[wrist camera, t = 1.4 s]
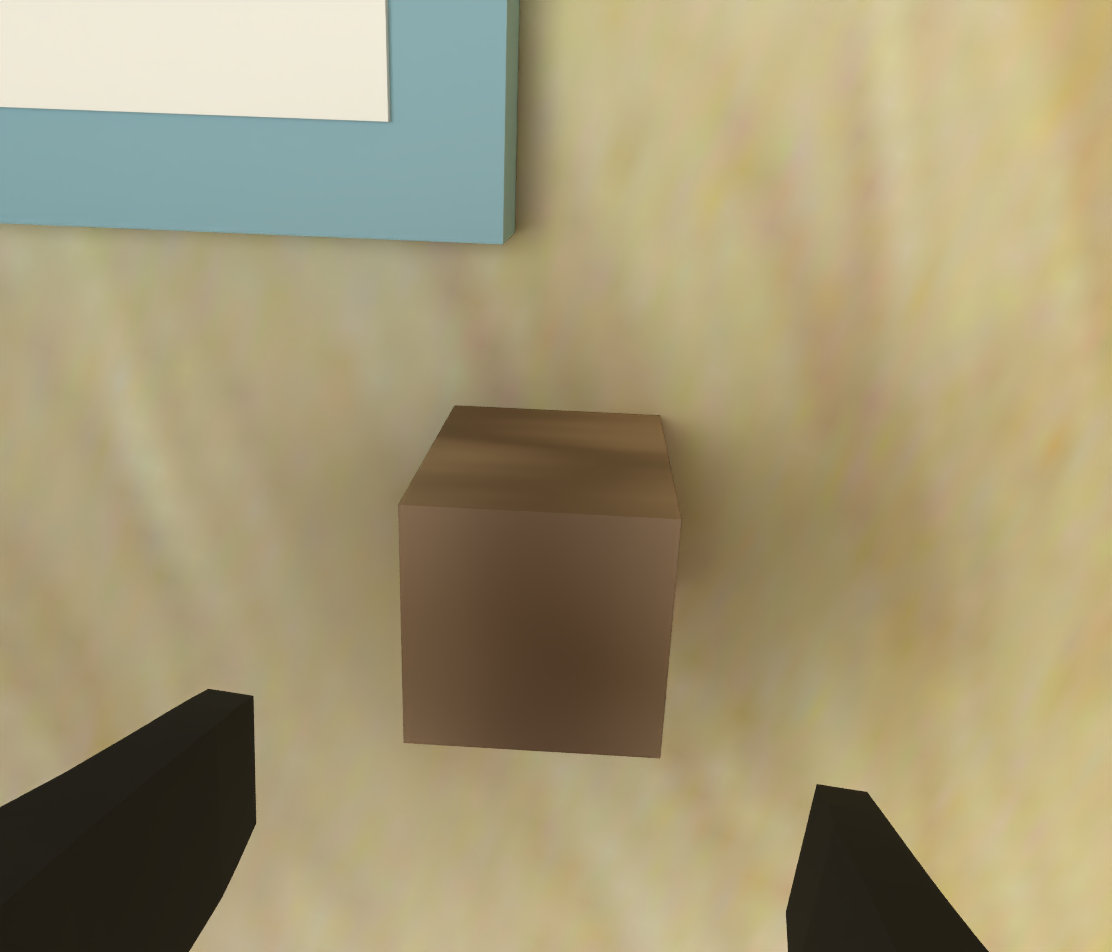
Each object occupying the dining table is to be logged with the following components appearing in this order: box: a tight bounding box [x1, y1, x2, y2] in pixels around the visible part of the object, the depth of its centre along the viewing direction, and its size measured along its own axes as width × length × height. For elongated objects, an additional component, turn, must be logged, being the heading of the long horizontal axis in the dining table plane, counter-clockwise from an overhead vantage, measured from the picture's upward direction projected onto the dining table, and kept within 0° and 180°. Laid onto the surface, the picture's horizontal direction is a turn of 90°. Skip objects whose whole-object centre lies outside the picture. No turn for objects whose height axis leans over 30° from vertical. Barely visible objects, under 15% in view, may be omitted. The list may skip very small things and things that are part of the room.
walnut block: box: [398, 406, 681, 758], centre depth 18 cm, size 4×4×6 cm
